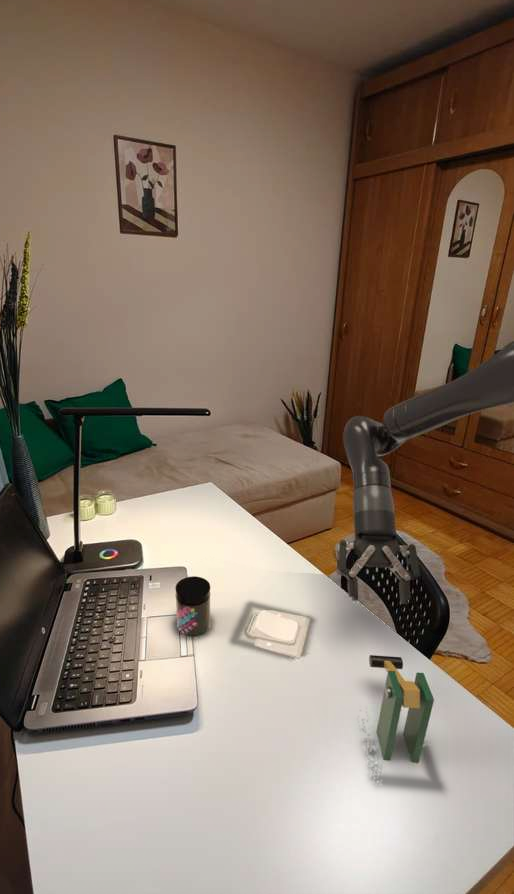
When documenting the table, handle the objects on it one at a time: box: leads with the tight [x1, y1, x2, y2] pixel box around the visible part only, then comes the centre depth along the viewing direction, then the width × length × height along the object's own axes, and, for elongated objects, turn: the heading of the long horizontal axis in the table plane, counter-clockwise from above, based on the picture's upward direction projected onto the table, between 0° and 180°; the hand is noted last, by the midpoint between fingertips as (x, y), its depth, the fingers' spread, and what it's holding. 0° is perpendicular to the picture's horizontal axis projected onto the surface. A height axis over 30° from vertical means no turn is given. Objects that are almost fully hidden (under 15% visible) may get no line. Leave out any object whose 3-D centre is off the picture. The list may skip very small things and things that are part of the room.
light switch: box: [246, 609, 311, 659], centre depth 87 cm, size 11×4×13 cm
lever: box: [368, 654, 420, 709], centre depth 67 cm, size 13×5×2 cm, turn 176°
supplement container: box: [175, 575, 211, 638], centre depth 87 cm, size 7×7×10 cm
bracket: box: [376, 671, 435, 764], centre depth 63 cm, size 10×8×14 cm
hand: (379, 601), depth 78 cm, fingers open, 8 cm apart
